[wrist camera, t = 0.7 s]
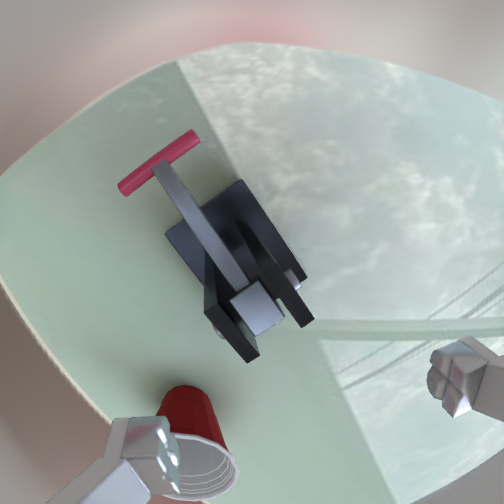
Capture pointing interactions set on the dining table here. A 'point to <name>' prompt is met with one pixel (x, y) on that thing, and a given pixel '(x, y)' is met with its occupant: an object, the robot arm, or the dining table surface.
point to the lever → (208, 236)
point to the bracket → (241, 263)
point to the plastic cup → (198, 445)
